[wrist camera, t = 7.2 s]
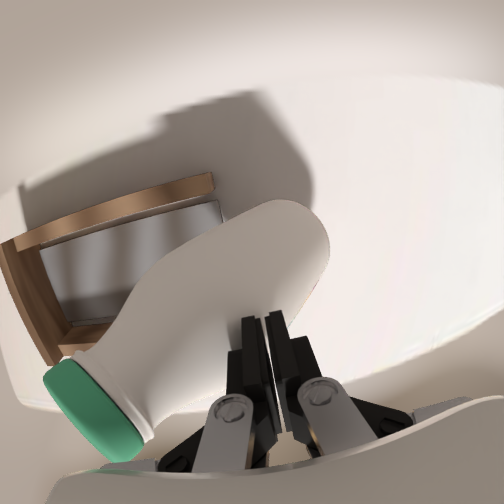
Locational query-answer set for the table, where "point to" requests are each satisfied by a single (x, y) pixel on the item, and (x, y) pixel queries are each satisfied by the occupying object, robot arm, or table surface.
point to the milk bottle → (189, 324)
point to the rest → (97, 262)
